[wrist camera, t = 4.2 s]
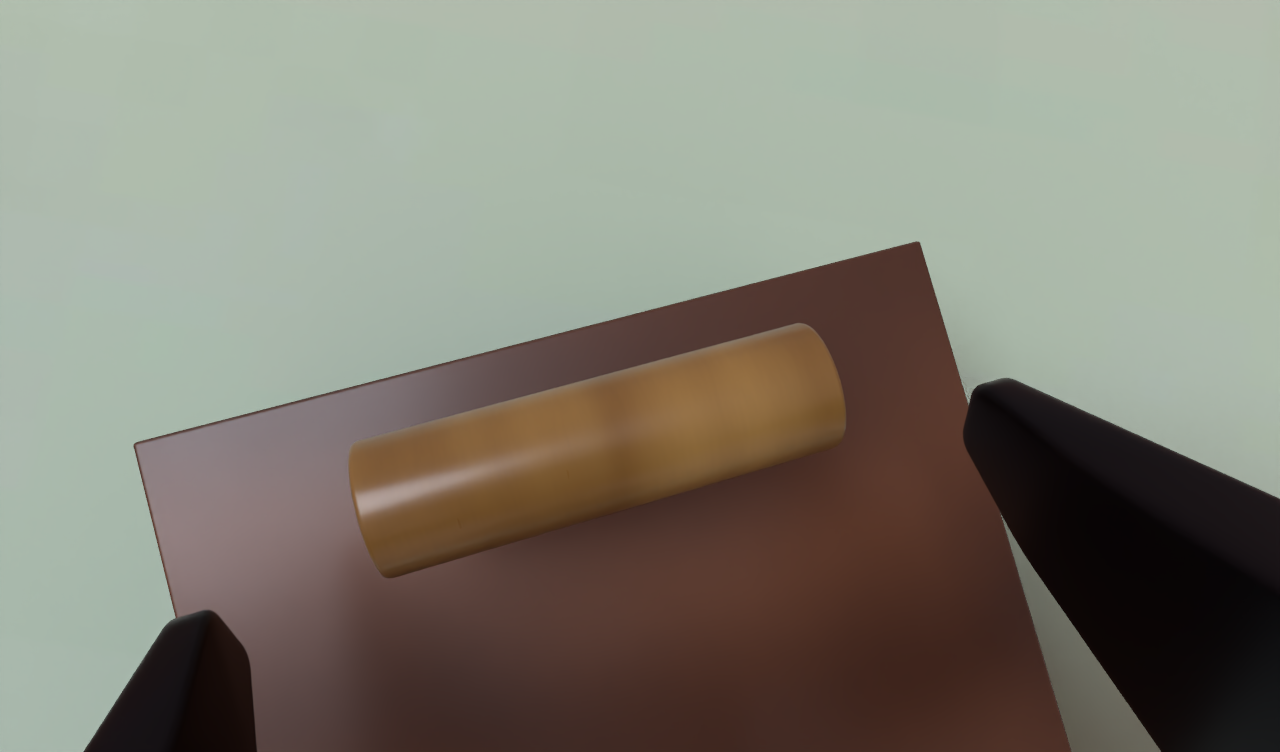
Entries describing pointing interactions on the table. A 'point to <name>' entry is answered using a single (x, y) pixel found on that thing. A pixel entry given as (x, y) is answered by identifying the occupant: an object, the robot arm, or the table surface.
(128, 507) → the table surface
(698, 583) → the box lid
